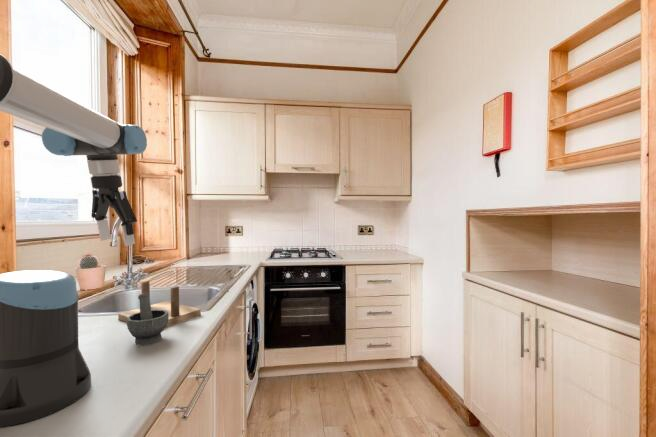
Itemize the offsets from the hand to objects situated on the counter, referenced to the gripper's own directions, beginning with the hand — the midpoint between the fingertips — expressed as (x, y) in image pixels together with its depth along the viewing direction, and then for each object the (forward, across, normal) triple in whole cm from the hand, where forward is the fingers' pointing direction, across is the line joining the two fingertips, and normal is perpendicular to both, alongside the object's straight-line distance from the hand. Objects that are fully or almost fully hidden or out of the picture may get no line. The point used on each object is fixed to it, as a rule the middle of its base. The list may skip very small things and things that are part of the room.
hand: (117, 242), depth 97 cm
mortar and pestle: (+22, -24, +9) cm, 34 cm away
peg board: (+26, -10, -4) cm, 28 cm away
